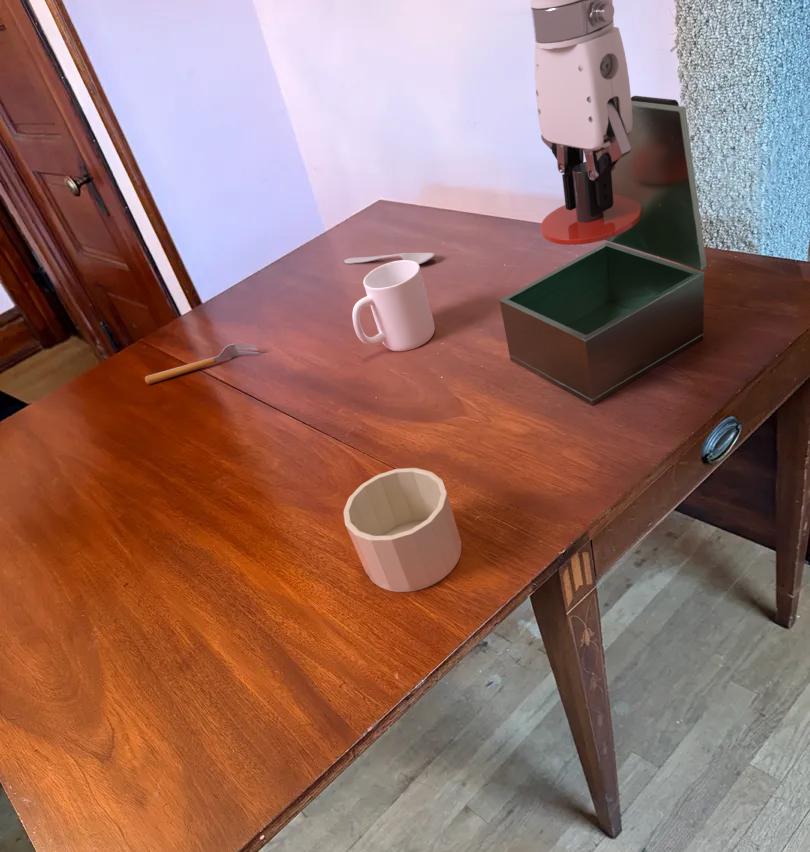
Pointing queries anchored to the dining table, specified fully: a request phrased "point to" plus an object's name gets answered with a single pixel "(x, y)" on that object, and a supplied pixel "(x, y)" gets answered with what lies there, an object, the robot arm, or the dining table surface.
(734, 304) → the dining table surface
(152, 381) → the fork
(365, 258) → the spoon
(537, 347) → the open box
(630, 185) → the box lid
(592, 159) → the robot arm
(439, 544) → the pot
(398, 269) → the cup
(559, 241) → the pot lid
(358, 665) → the dining table surface
